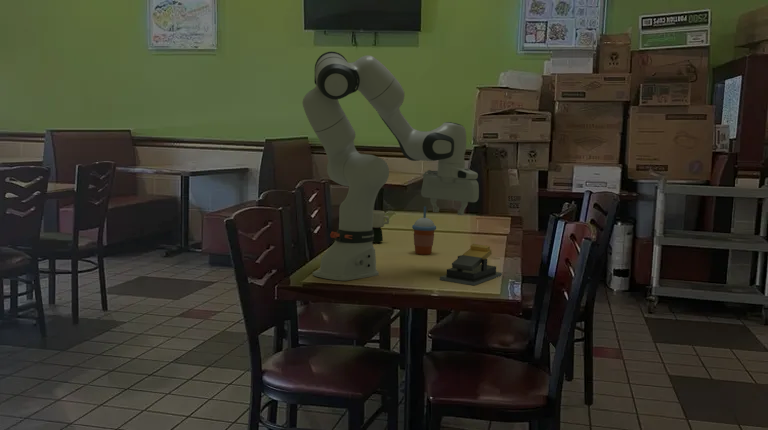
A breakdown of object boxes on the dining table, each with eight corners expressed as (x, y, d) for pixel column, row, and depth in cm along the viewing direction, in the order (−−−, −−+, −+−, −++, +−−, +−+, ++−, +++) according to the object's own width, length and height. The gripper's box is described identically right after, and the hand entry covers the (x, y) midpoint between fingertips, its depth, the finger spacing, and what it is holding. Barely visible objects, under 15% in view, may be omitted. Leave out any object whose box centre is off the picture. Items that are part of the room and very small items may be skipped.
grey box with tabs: (474, 285, 215) (475, 264, 214) (439, 279, 222) (440, 259, 221) (501, 275, 231) (502, 255, 231) (469, 270, 238) (470, 251, 237)
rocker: (472, 271, 219) (471, 262, 218) (452, 267, 222) (451, 259, 222) (491, 254, 229) (491, 246, 228) (472, 251, 233) (471, 243, 232)
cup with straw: (433, 256, 264) (435, 208, 262) (409, 254, 265) (411, 207, 263) (436, 252, 273) (438, 206, 270) (413, 250, 274) (415, 204, 272)
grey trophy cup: (388, 241, 294) (389, 210, 293) (387, 244, 287) (388, 212, 286) (363, 240, 295) (363, 209, 294) (361, 243, 288) (362, 211, 286)
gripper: (419, 169, 237) (416, 210, 238) (473, 174, 225) (470, 217, 227) (428, 169, 242) (426, 209, 243) (482, 174, 230) (479, 216, 232)
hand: (448, 213), depth 235 cm, fingers open, 8 cm apart
